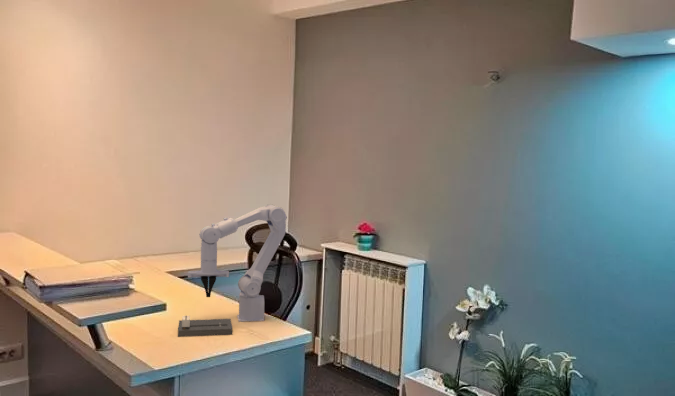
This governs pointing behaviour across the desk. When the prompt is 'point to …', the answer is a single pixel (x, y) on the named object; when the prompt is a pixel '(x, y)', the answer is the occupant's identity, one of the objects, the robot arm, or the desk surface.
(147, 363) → the desk surface
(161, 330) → the desk surface
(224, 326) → the fader console
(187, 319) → the fader knob
